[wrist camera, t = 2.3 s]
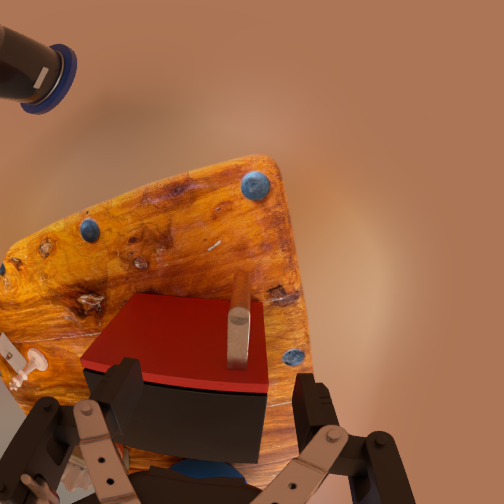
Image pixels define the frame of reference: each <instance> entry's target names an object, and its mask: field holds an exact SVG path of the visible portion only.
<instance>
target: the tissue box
mask: <svg viewBox="0 0 504 504" xmlns="http://www.w3.org/2000/svg"><path fill="white" fill-rule="evenodd" d="M122 460H123V462H124V464H125V466H126V468H127V470H128V469H129V455H128V448H126V447H123V459H122ZM61 481H62V482H63V483H64V484H65V487H66V489H67V490H68V491H70V492H72V491H74V490H75V489H76V488H77V487H78V486H79V487H81V488H83V489H84V490H89V489H90V488H91V487H92V486H93V484H92V482H91V479H90V476H89V473H88V470H87V467H86V464H85V461H84V458H83V455H82V452H81V448H80V445H76V446H75V448H74V450H73V452H72V455H71V457H70V459H69V461H68V464H67V466H66V468H65V471H64V473H63V475H62V478H61Z"/></svg>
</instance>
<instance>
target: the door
mask: <svg viewBox="0 0 504 504" xmlns="http://www.w3.org/2000/svg"><path fill="white" fill-rule="evenodd" d="M250 295H251V276H250V273H249V272H248V271H246V270H238V271H237V272H236V273H235V275H234V281H233V287H232V293H231V299H230V300H216V299H202V298H189V297H178V296H166V295H156V294H146V293H135V294H134V295H133V297H132V298H131V299H130V300H129V301H128V302H127V303H126V304H125V306H124V307H123V308H122V309H121V310H120V311H119V312H118V314H117V315H116V316H115V317H114V318H113V319H112V321H111V322H110V323H109V324H108V325H107V326H106V328H105V329H104V330H103V331H102V332H101V334H100V335H99V336H98V337H97V338H96V339H95V341H94V342H93V343H92V344H91V346H90V347H89V348H88V349H87V350H86V352H85V353H84V354H83V355H82V357H81V358H80V360H81V364H82V367H84V368H88V369H92V370H96V371H100V372H104V373H106V371H107V370H108V368H110V367H111V366H113V365H114V364H118V365H119V364H120V362H121V361H122V359H123V358H124V357H130V358H136V359H139V361H140V365H141V371H142V376H143V381H148V382H154V383H160V384H167V385H174V386H182V387H190V388H199V389H209V390H220V391H235V392H256V393H268V387H269V379H268V366H267V353H266V340H265V327H264V315H263V303H262V302H250Z"/></svg>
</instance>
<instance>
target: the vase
mask: <svg viewBox="0 0 504 504" xmlns="http://www.w3.org/2000/svg"><path fill="white" fill-rule="evenodd" d="M169 469H170V470H174V471H176V472H179V473H182V474H184V475H187V476H190V477H192V478H210V477H220V476H222V477H236V478H244V477H243V476H242V475H241V474H240V473H239V472H238V471H237V470H236V469H235V468H234V467H232V466H230V465H229V464H227V463H225V462H216V461H206V460H198V459H190V458H189V459H185V460H182V461H180V462H178V463H176V464H174V465H172V466H171V467H170V468H169ZM245 484H247V482H246V480H245Z"/></svg>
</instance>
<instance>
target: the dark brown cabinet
mask: <svg viewBox="0 0 504 504" xmlns="http://www.w3.org/2000/svg"><path fill="white" fill-rule="evenodd" d="M83 373H84V376H85V379H86V382H87V384H88V387H89V390H90V393H91V394H92V392H93V391H94V389H95V388H96V386H97V385H98V383H99V382H100V380H101V379H102V377H104V374H105V373H104V372H100V371H96V370H92V369H88V368H84V369H83ZM266 404H267V393H256V392H235V391H220V390H209V389H199V388H190V387H182V386H174V385H167V384H160V383H154V382H148V381H144V387H143V391H142V394H141V396H140V398H139V400H138V402H137V405H136V407H135V409H134V411H133V413H132V416H131V418H130V420H129V422H128V425H127V427H126V429H125V432H124V434H123V435H120V434H116V433H115V435H114V437H113V439H114V441H115V443H117V444H121V445H125V446H128V447H132V448H137V449H141V450H145V451H150V452H155V453H160V454H165V455H171V456H177V457H183V458H190V459H198V460H206V461H216V462H229V463H251V464H257V463H258V457H259V451H260V444H261V438H262V431H263V425H264V418H265V411H266Z"/></svg>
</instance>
